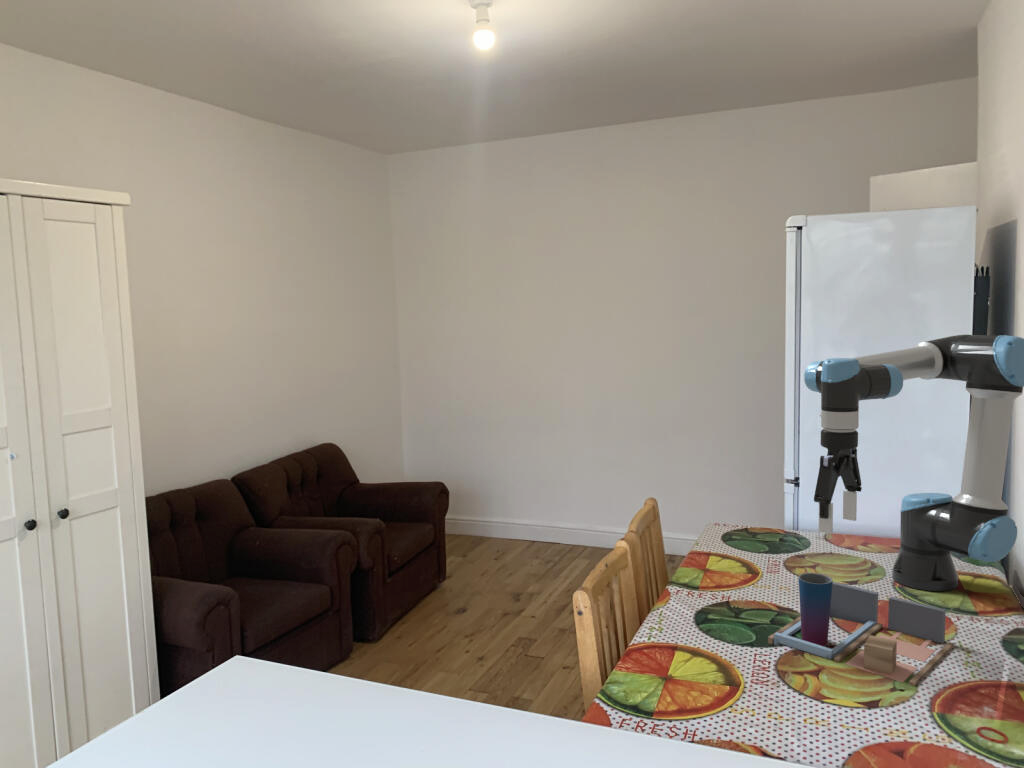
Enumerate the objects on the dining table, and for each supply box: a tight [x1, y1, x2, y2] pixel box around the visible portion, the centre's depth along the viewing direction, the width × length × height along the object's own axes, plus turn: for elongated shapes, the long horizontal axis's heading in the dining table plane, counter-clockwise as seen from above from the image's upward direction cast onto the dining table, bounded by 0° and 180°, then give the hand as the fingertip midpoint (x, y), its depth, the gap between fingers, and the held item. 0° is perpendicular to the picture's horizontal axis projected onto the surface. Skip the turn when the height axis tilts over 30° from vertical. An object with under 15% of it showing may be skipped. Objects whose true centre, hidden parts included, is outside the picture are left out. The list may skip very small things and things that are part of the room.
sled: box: [773, 581, 879, 661], centre depth 168 cm, size 24×12×8 cm, turn 134°
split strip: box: [844, 596, 947, 683], centre depth 158 cm, size 24×11×8 cm, turn 134°
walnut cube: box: [863, 635, 898, 675], centre depth 152 cm, size 5×5×5 cm
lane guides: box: [767, 615, 955, 687], centre depth 163 cm, size 23×30×2 cm
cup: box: [798, 572, 834, 647], centre depth 164 cm, size 7×7×15 cm
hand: (837, 525), depth 168 cm, fingers open, 12 cm apart
